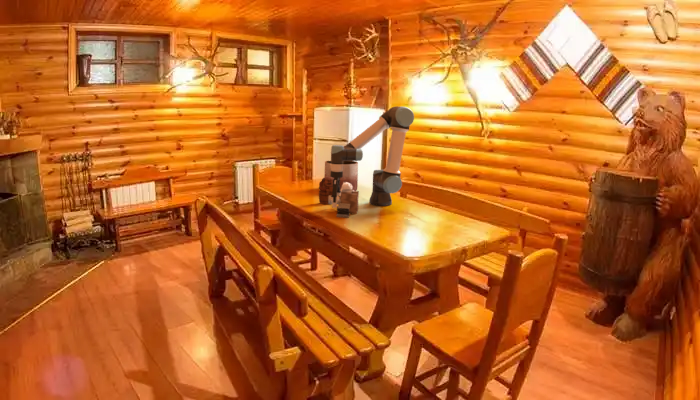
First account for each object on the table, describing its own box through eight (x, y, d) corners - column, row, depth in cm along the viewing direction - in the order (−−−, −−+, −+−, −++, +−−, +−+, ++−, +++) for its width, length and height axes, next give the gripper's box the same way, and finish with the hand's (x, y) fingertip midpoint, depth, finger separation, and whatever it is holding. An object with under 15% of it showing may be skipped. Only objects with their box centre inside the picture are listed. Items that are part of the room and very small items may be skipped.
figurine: (343, 201, 296) (343, 184, 293) (336, 198, 304) (337, 181, 302) (356, 200, 300) (356, 183, 298) (349, 197, 309) (350, 180, 306)
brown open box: (358, 209, 273) (358, 189, 271) (356, 213, 264) (357, 192, 261) (342, 209, 274) (342, 188, 272) (340, 212, 265) (340, 192, 262)
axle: (358, 204, 270) (358, 196, 269) (357, 206, 265) (357, 197, 264) (329, 203, 272) (329, 194, 271) (328, 204, 267) (328, 195, 266)
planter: (350, 195, 315) (351, 165, 311) (318, 192, 324) (319, 162, 319) (361, 189, 339) (362, 161, 334) (332, 186, 347) (332, 159, 342)
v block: (350, 213, 263) (350, 203, 262) (348, 217, 254) (348, 207, 252) (338, 213, 264) (338, 202, 262) (336, 217, 254) (336, 206, 253)
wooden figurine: (321, 204, 284) (322, 177, 280) (318, 202, 289) (318, 176, 285) (338, 203, 289) (338, 176, 285) (334, 201, 294) (334, 175, 291)
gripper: (333, 167, 276) (332, 200, 281) (327, 173, 253) (326, 209, 258) (345, 168, 276) (343, 201, 280) (340, 174, 252) (339, 210, 257)
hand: (335, 205), depth 269 cm, fingers open, 12 cm apart
